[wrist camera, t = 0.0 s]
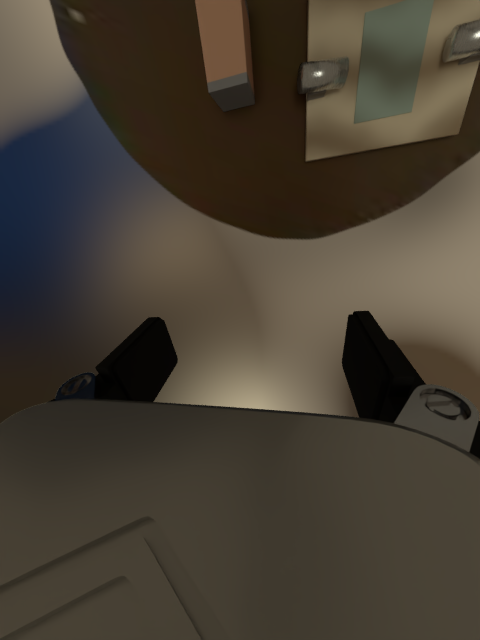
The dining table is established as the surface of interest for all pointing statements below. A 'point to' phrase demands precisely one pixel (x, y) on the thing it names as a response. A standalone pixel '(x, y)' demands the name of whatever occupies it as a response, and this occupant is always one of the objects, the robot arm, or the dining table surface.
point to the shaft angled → (322, 75)
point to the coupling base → (387, 74)
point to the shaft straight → (463, 41)
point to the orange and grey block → (227, 51)
